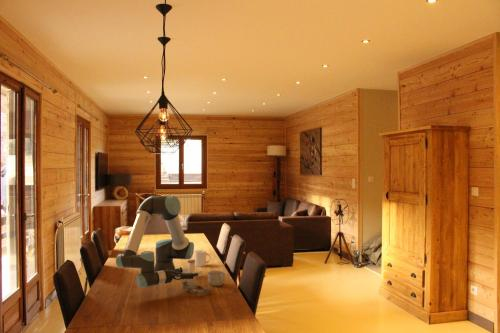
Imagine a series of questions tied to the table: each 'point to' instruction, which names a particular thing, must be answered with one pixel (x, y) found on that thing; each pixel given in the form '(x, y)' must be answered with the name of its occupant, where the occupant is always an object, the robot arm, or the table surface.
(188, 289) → the track
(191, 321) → the table surface
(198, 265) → the mug
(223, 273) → the teacup
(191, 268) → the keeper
